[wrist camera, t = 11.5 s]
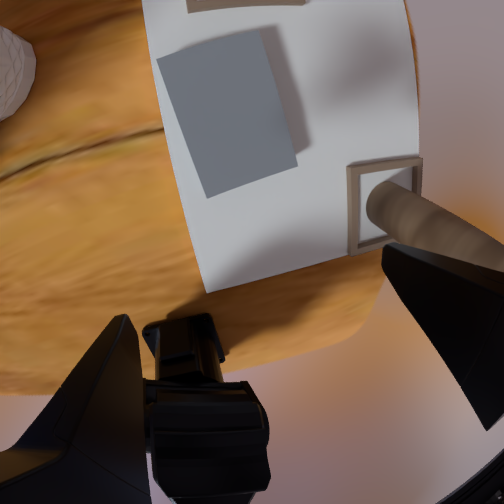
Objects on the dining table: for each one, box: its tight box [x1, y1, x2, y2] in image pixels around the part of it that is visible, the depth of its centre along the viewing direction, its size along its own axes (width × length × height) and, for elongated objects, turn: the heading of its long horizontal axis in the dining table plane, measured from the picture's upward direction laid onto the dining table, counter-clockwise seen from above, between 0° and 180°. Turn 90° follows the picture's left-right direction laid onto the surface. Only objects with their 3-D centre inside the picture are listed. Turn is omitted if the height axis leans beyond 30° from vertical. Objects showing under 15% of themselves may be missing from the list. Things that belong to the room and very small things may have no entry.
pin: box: [366, 181, 504, 272], centre depth 18 cm, size 4×4×13 cm
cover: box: [156, 30, 298, 199], centre depth 16 cm, size 9×6×2 cm, turn 16°
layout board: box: [142, 0, 423, 293], centre depth 18 cm, size 28×20×2 cm
